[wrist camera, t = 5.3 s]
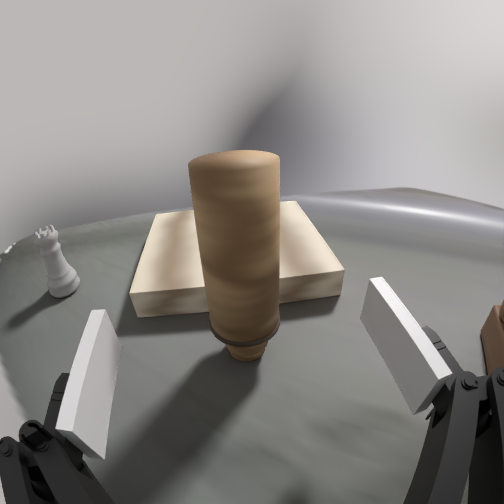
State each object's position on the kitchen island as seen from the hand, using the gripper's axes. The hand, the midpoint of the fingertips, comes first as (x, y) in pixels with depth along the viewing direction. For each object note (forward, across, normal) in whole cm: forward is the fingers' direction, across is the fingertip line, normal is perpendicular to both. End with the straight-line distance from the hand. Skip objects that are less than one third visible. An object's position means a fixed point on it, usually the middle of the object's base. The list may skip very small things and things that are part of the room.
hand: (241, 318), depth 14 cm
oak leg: (+6, +1, -9) cm, 11 cm away
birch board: (+20, +1, -9) cm, 22 cm away
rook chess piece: (+17, -20, -9) cm, 28 cm away
